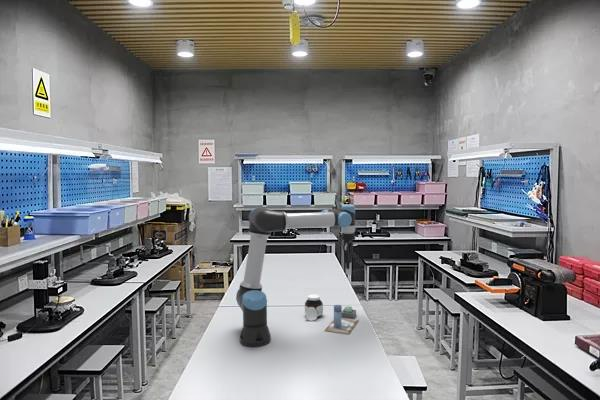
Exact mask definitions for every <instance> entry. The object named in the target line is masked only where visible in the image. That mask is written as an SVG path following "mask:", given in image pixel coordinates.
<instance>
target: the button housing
mask: <svg viewBox="0 0 600 400" xmlns="http://www.w3.org/2000/svg"><path fill="white" fill-rule="evenodd" d="M356 316H357V309H352V313H346V312H345V308H343V309H342V316H341V318H348V319H355V317H356Z"/></svg>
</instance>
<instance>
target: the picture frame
mask: <svg viewBox="0 0 600 400" xmlns="http://www.w3.org/2000/svg"><path fill="white" fill-rule="evenodd" d="M358 322H360V321H359V319H356V318H354V319H348V318H341V328H335V327H334V319H333V320H332V321H331V322H330V323H329V325H328V326H327V327H326V328H324V332H329V333H335V334H342V335H348V336H349V335H350V334H351V332H352V331H353V329H354V328H355V327H356V325H358Z"/></svg>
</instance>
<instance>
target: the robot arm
mask: <svg viewBox="0 0 600 400" xmlns="http://www.w3.org/2000/svg"><path fill="white" fill-rule="evenodd" d="M248 222H249V226H248V231H247V232H248V233H249V235H250V237H249V245H248V246H249V247H248V250H247V251H248V252H247V256H246V257H247V258H246V263H245V269H244V275H243V280H242V281H241V282H240V284H239V288H238V289H237V292H236V297H235V299H236V300H235V301H236V302H237V305H238V306H239V308H240V309H241V311H242V329H241V332H240V335H239V342H240V344H241V345H242V346H245V347H249V348H251V347H253V348H256V347H257V348H258V347H261V346H262V347H263V346H265V345H268V344H269V343H270V342H271V341H272V335H271V332H270V328H269V326H268V306H267V305H268V299H267V295H266V293H265V292H264V291H262V290H263V285H262V283H261V278H262V273H263V267H264V266H263V265H264V260H265V255H266V254H265V253H266V248H267V241H268V238H269V237H270V236H271V234H272V232H273V233H274V232H276V233H277V232H285V231H286V230H288V229H290V230H291V229H304V228H305V229H306V228H308V229H309V228H323V227H324V228H325V227H326V228H329V227H341V240H342V241H344V243H343V244H344V245H343V247H342V249H343V260H344V262H343V263H344V264H345V275H352V263H353V253H354V252H353V251H354V250H353V249H354V243H353V241H355V240H356V233H355V232H356V230H357V229H356V228H357V227H356V207H355V206H354V205H353V204H342V205H341V207H340V208H338V209H337V208H335V209H329V208H328V209H323V210H321V211H320V212H319V211H318V212H296V213H291V212H290V213H289V212H288V213H286V212H285V211H276V210H272V209H269V208H266V207H262V206H260V207H259V206H258V207H255V208H253V209H252V210H251V211H250V213H249V215H248Z"/></svg>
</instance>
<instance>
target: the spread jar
mask: <svg viewBox="0 0 600 400" xmlns="http://www.w3.org/2000/svg"><path fill="white" fill-rule="evenodd" d="M320 298H321V296H320V295H319V294H314V293H313V294H309V295H307V299H306V301H305V303H304V313H305V314H304V316H305V318H306V319H307V321H311V322H312V321H315V320H316V319H318V318H320V317H322V316H323V314H324V304H323V303H324V302H323V301H322V300H321V299H320Z"/></svg>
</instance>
